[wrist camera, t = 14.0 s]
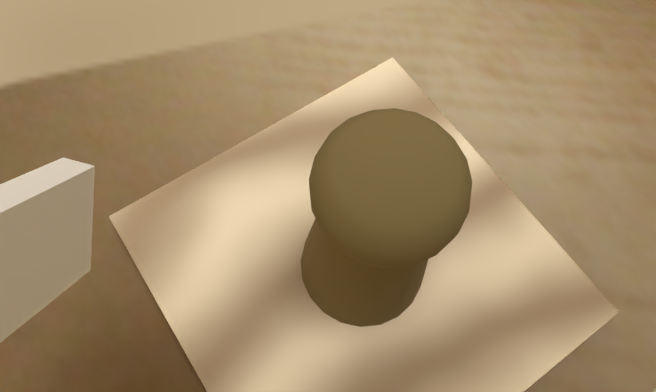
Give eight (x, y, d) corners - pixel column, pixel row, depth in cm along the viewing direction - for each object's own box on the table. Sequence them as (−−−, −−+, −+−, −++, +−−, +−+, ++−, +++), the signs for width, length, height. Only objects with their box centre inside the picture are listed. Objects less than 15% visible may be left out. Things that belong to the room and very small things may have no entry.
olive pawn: (326, 191, 26) (337, 53, 16) (437, 231, 26) (520, 114, 16) (281, 299, 24) (260, 217, 14) (402, 346, 23) (471, 296, 13)
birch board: (602, 317, 26) (619, 311, 24) (308, 561, 21) (307, 571, 20) (388, 73, 31) (392, 57, 30) (119, 226, 27) (108, 216, 25)
